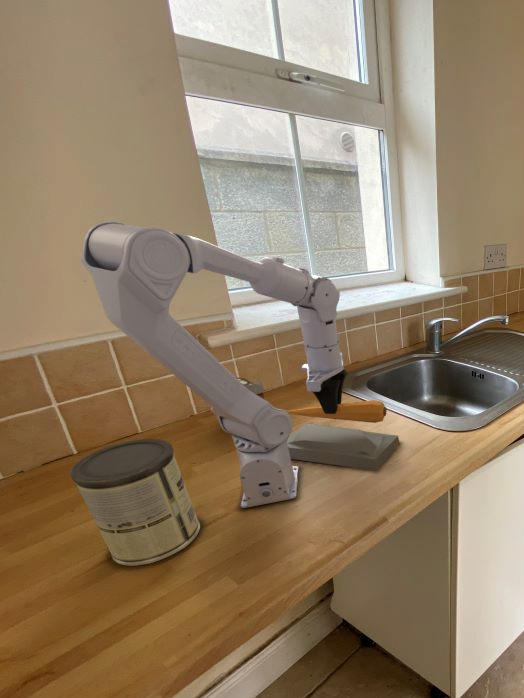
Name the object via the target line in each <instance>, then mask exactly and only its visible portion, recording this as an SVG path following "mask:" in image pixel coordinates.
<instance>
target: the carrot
mask: <svg viewBox="0 0 524 698" xmlns="http://www.w3.org/2000/svg"><path fill="white" fill-rule="evenodd" d="M285 411H286V412H288V413H289V414H290V415H297V416H303V417H310V418H319V419H320V418H321V419H329V420H331V419H332V420H340V421H341V420H342V421H351V422H362V423H363V422H364V423H373V424H376V423H380V422H383V421H384V419H385V417H386V416H387V407H386V406H385V403H384V402H383V401H380V400H377V399H371V400H362V401H354V402H352V401H351V402H345V403H341V404H338V408H337V412H336V414H325V413H324V411H323V409H322V407H321V405H318V406H308V407H302V408H296V409H290V410H285Z"/></svg>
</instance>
